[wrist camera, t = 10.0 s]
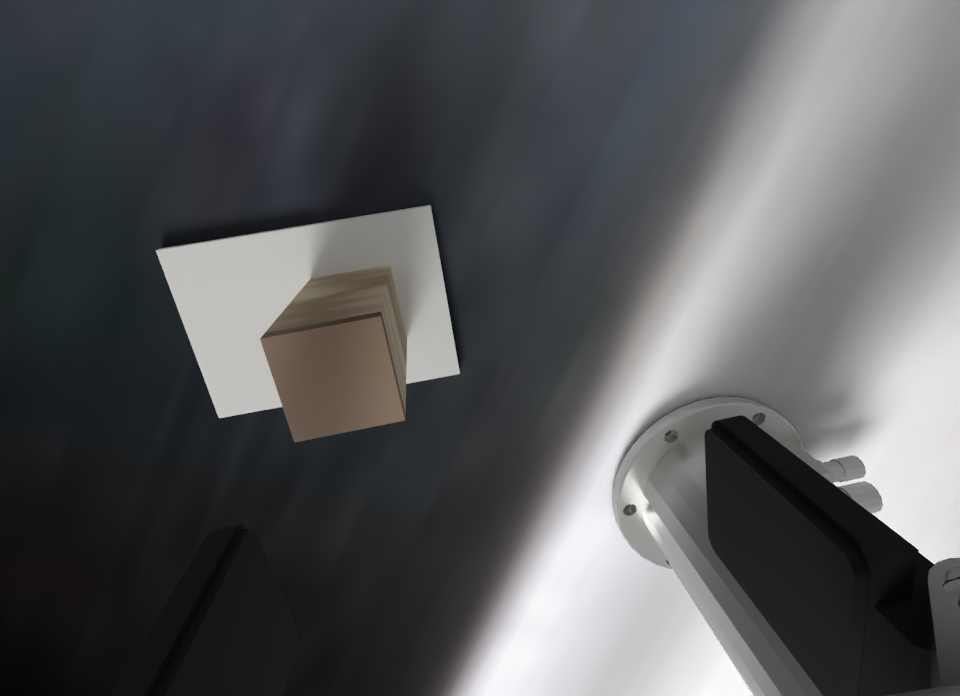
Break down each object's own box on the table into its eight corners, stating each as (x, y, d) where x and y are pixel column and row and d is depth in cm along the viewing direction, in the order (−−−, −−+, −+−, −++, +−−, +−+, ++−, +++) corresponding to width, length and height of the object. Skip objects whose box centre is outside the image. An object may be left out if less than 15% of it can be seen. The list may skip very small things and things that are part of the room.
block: (390, 264, 25) (380, 316, 17) (407, 338, 27) (405, 420, 18) (310, 278, 25) (260, 338, 17) (331, 352, 27) (294, 442, 18)
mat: (430, 204, 25) (430, 205, 25) (459, 369, 28) (460, 373, 28) (161, 248, 24) (155, 250, 24) (222, 413, 28) (219, 418, 27)
